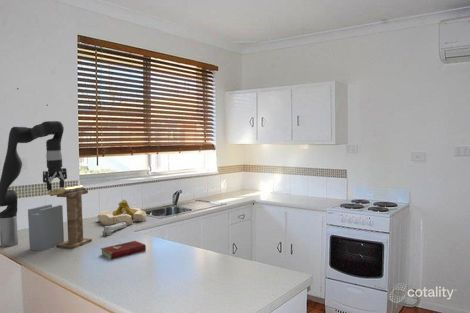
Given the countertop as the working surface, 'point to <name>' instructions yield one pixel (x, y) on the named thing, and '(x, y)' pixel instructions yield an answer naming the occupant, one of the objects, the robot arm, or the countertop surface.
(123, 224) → the toothbrush head
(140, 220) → the campfire
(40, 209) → the grey cradle
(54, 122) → the robot arm
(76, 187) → the brass rod
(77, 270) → the countertop surface
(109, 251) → the hardcover book
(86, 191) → the walnut stand
